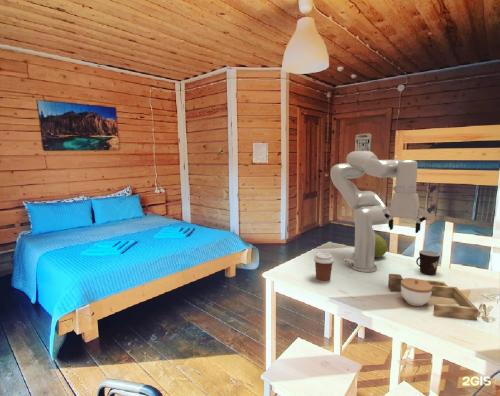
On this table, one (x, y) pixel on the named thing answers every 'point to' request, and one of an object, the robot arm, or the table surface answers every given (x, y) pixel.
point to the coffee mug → (428, 261)
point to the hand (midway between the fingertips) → (403, 230)
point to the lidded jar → (416, 291)
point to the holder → (462, 311)
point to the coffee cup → (323, 267)
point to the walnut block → (395, 282)
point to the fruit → (380, 246)
